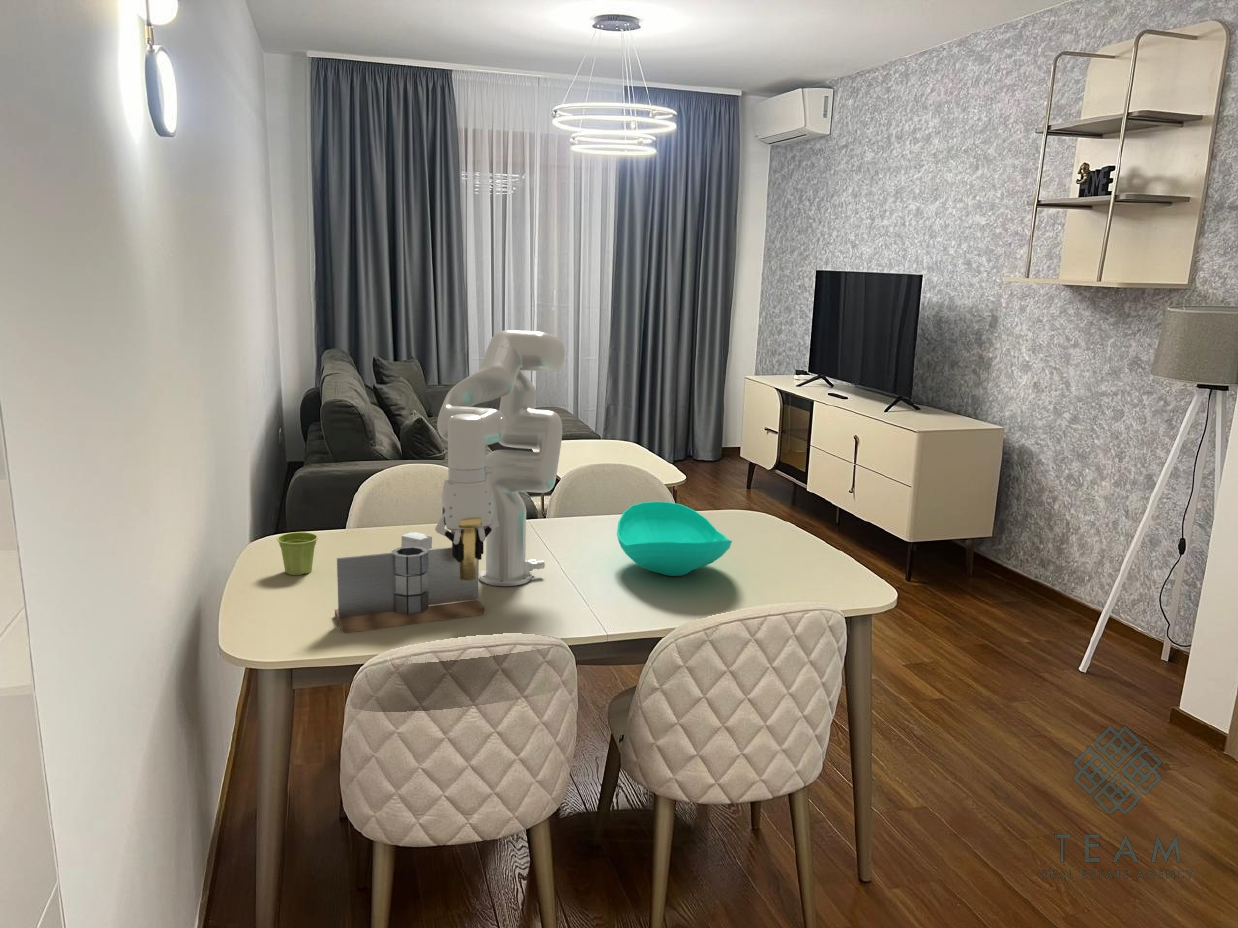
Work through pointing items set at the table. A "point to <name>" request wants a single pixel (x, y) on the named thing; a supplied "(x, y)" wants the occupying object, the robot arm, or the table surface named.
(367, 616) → the base board
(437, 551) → the swing leaf
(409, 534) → the skincare box
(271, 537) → the table surface
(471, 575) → the hinge pin
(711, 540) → the table top decor
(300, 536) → the plant pot
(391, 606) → the hinge frame
